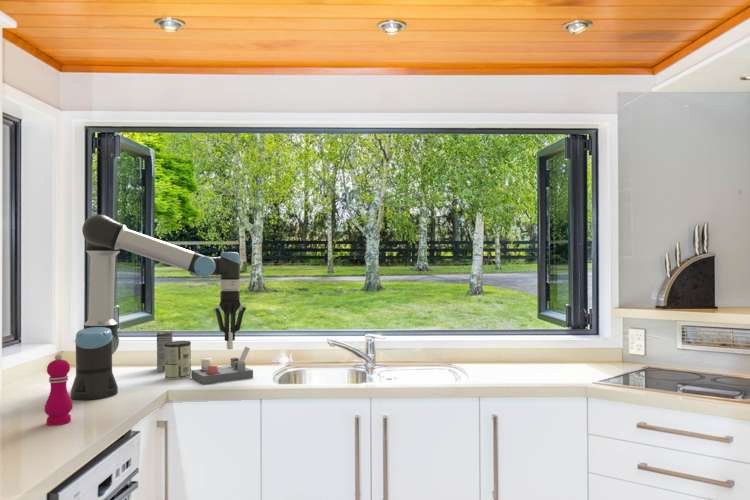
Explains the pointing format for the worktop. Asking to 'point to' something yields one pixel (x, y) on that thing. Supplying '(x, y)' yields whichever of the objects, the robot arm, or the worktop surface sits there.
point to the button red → (212, 369)
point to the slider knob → (234, 360)
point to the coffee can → (177, 359)
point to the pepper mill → (58, 393)
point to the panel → (223, 374)
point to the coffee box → (162, 348)
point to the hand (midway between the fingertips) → (229, 348)
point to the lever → (243, 355)
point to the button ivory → (205, 364)
